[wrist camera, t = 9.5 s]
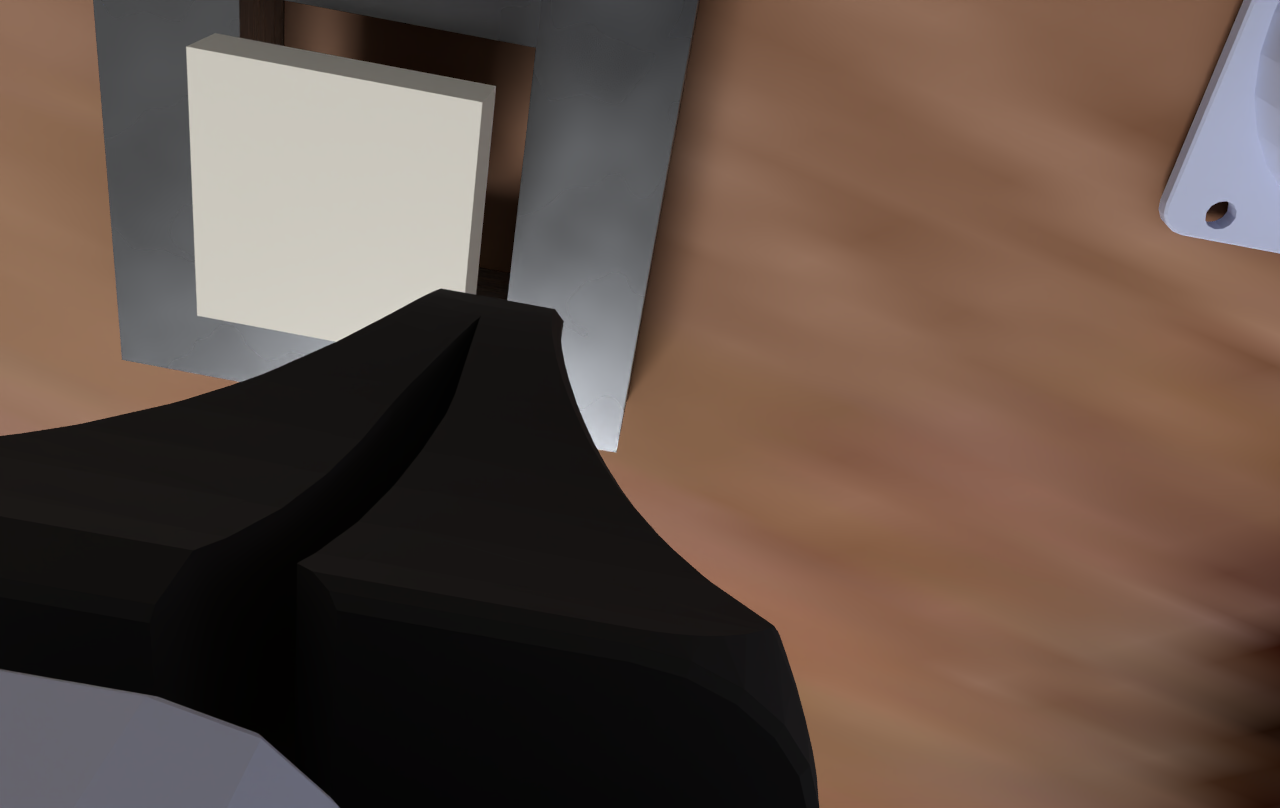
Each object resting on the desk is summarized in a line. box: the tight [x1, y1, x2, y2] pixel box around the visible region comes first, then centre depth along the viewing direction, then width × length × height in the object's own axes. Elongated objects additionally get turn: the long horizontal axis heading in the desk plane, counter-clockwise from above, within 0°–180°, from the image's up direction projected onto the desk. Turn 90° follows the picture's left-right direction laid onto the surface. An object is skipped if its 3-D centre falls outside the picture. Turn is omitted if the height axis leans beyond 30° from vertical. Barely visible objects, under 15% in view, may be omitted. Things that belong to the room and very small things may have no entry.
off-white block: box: [186, 33, 496, 342], centre depth 19 cm, size 4×4×3 cm
